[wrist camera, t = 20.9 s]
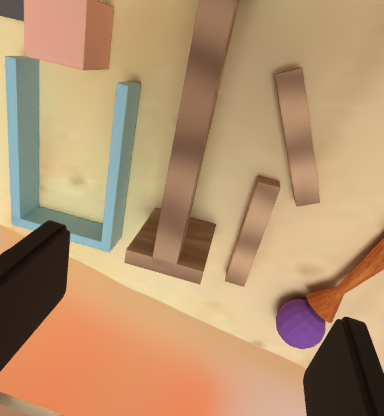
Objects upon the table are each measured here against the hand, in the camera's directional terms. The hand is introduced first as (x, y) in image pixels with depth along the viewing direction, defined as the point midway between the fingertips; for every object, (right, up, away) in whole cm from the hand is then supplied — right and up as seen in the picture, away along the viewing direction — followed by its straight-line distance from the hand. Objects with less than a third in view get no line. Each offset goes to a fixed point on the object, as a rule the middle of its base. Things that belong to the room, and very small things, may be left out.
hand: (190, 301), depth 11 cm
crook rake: (+2, +13, +26) cm, 29 cm away
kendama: (+19, -5, +31) cm, 36 cm away
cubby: (-14, +10, +30) cm, 35 cm away
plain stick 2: (+12, +11, +25) cm, 30 cm away
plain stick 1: (+7, +1, +30) cm, 31 cm away
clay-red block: (-11, +22, +24) cm, 35 cm away
